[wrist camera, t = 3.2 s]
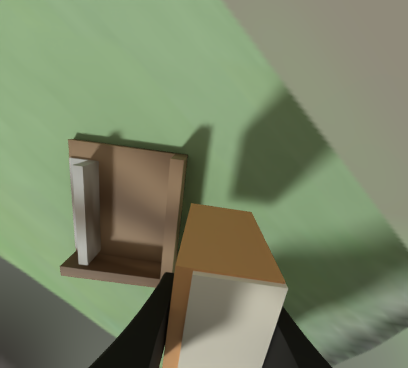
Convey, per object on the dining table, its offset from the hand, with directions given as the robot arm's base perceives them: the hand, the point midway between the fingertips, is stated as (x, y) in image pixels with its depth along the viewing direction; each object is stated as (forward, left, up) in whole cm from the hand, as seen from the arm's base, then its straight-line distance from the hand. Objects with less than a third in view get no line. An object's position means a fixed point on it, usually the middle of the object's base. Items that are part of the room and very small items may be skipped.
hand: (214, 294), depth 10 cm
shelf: (-1, +8, -9) cm, 12 cm away
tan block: (0, 0, -4) cm, 4 cm away
